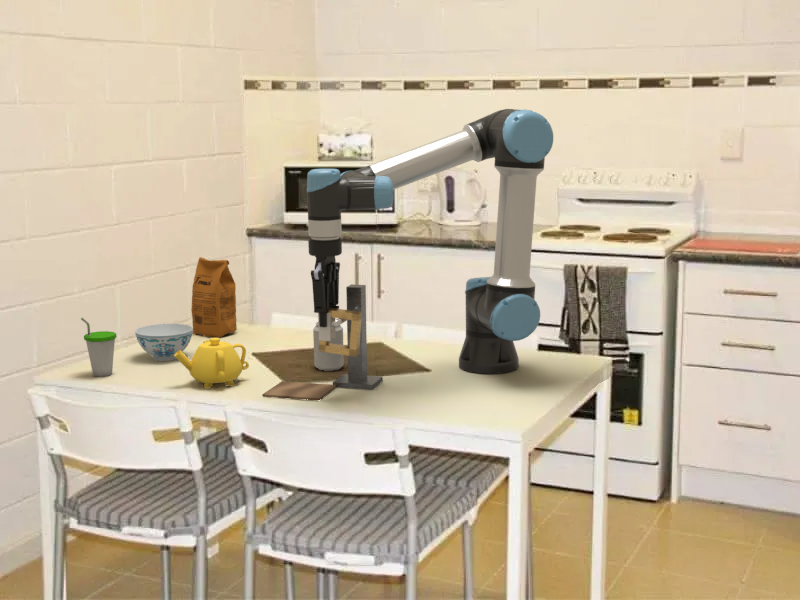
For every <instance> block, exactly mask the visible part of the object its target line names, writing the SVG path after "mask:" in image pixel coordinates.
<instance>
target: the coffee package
mask: <svg viewBox="0 0 800 600" xmlns="http://www.w3.org/2000/svg"><path fill="white" fill-rule="evenodd" d="M228 265H230V261H229V260H227V259H219V260H218V259H217V260H216V259H215V260H209V259H206V258H204V257H202V256H200V257H199V258H198V260H197V265H196V269H195V274H194V278H193V283H192V291H191V292H192V294H191V309H190V311H191V318H192V327H193V333H192V335H202V336H204V337H206V338H207V337H209V338H210V337H211V338H221V337H223V336H225V335H227V334H232V333H235V332H236V331H237V330H238V328H237V314H236V313H237V305H236V304H237V297H236V282H235V279H234V277H233V275H232V273H231V271H230V268H229V266H228Z"/></svg>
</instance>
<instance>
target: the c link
mask: <svg viewBox="0 0 800 600" xmlns="http://www.w3.org/2000/svg"><path fill="white" fill-rule="evenodd" d="M329 312H330V314H331V317H333V318H335V319H338V318H340V319H347V320H352V321H351V335H350V346H348V345H344V344H343V345H339V344H332V343H329V341H320V340H319V351H321V352H328V353H334V354H341V355H344V356H347V357H348V356H354V357H356V356H357V355H359V347H360V333H361V320H362V312H357V311H350V310H347V309H343V308H341V309H340V308H339V309H336V308H329Z"/></svg>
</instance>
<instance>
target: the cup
mask: <svg viewBox="0 0 800 600" xmlns="http://www.w3.org/2000/svg"><path fill="white" fill-rule="evenodd" d="M80 320H81V321H82V322H84V323H85V324H86V327H87V328H86V330H87V333H85V334H84V335H83V340H84V341H85V343H86V347H87V353H88V356H89V362H90V367H91V371H92V375H93V377H95V378H106V377H109V376H112V375H113V368H114V366H113V365H114V352H115V341H116V338H117V333H116V332H114V331H108V330H105V331H104V330H103V331H93V332H91V328H90V327H91V325H90V323H89V322H88V321H87V320H86V319H85V318H84V317H81V318H80Z"/></svg>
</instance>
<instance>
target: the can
mask: <svg viewBox="0 0 800 600" xmlns="http://www.w3.org/2000/svg"><path fill="white" fill-rule="evenodd" d="M335 329H336V337H335V338H331V341H329V343H332V344H339V345H344V327H343V326H342V324H340V325H339V326H337V327H336V328H335ZM312 331H313V361H314V362H313V365H314V367H315V368H316V369H317V368H318V369H319V370H318V369H317V370H318V371H322V370H324V371H323V372H332V371H334V370H335V371H338V370H341V368H342V367H344V364H345V363H344V362H345V361H344V359H345V358H344V357H345V355H341V354H334V353H328V352H321V351H319V324H318V321H316V322H315V326H314V327H313V329H312Z"/></svg>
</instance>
